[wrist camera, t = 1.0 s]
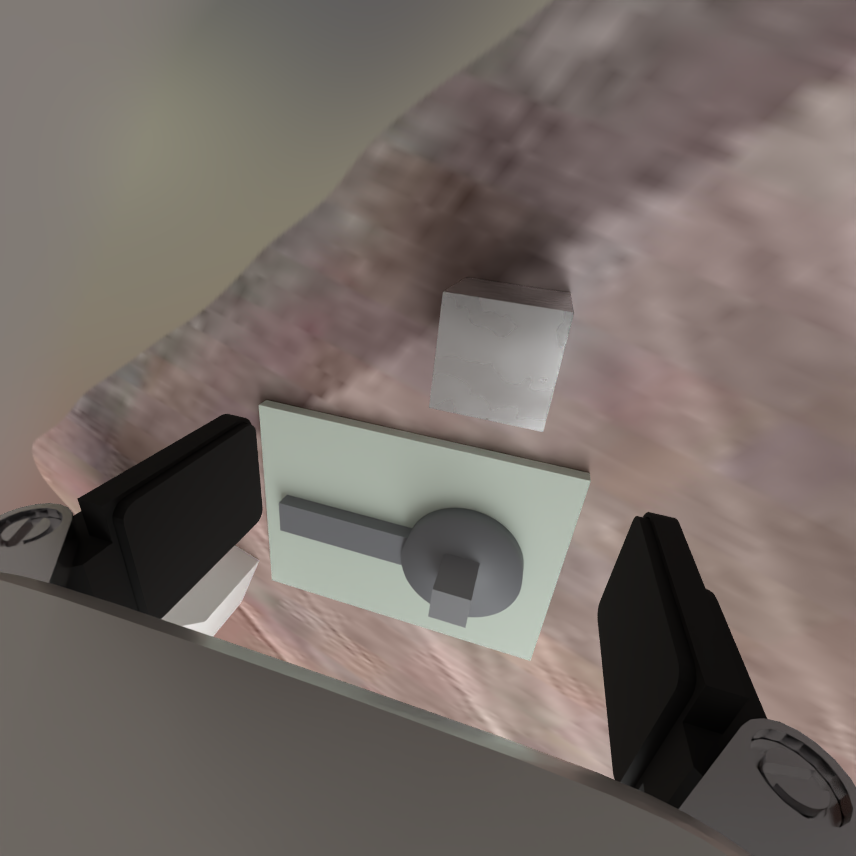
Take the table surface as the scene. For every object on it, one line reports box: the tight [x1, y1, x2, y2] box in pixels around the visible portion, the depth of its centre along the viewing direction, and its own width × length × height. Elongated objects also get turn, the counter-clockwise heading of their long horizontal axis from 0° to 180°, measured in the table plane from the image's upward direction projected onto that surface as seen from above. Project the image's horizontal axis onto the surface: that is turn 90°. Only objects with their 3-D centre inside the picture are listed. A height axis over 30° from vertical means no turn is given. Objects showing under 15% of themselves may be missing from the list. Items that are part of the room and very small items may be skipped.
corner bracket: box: [162, 545, 259, 637], centre depth 37 cm, size 11×11×12 cm
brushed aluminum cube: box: [429, 277, 574, 432], centre depth 24 cm, size 6×6×6 cm
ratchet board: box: [259, 400, 591, 661], centre depth 32 cm, size 24×18×6 cm
